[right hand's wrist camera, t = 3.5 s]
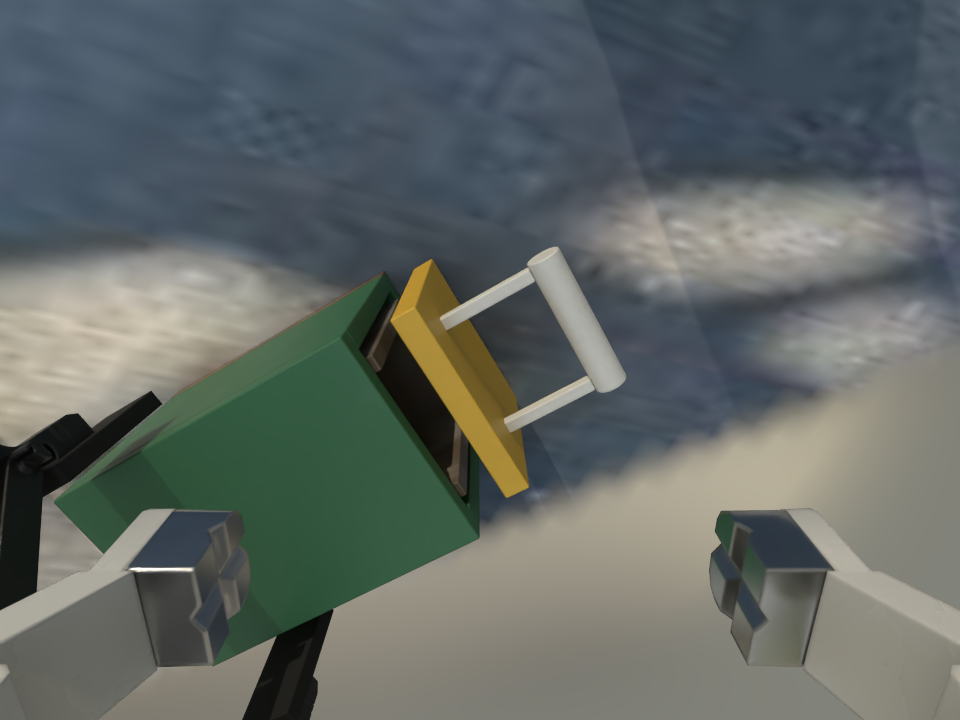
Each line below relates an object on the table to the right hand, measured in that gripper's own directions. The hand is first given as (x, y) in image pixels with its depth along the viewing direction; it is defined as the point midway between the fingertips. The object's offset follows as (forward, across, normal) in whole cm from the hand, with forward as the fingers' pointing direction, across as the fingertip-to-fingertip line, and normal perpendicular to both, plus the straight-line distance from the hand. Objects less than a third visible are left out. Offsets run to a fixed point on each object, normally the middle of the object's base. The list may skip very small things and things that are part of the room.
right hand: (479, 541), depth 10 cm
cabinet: (+25, -9, -9) cm, 28 cm away
